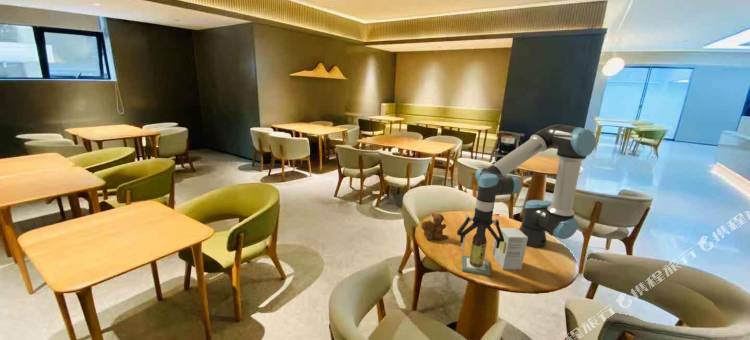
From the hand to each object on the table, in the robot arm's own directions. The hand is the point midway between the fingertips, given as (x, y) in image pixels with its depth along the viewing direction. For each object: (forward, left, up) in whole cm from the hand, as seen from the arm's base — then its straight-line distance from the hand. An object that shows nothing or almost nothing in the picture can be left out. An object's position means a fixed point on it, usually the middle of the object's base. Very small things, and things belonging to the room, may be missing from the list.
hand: (477, 251), depth 141 cm
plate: (0, 0, -8) cm, 8 cm away
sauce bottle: (0, 0, -7) cm, 7 cm away
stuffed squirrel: (+21, -22, -8) cm, 32 cm away
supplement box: (-15, -7, -8) cm, 18 cm away
